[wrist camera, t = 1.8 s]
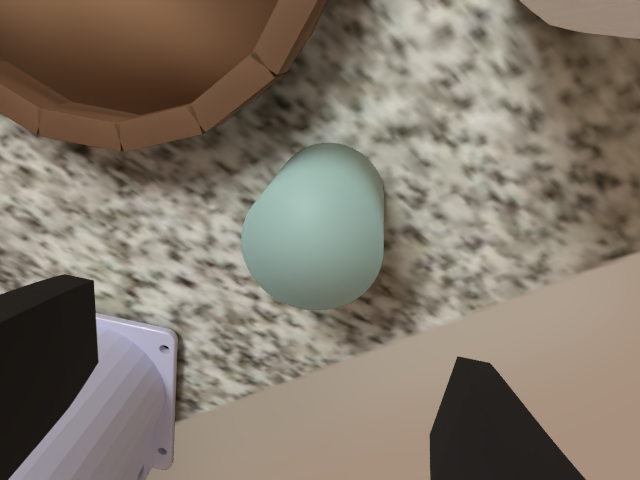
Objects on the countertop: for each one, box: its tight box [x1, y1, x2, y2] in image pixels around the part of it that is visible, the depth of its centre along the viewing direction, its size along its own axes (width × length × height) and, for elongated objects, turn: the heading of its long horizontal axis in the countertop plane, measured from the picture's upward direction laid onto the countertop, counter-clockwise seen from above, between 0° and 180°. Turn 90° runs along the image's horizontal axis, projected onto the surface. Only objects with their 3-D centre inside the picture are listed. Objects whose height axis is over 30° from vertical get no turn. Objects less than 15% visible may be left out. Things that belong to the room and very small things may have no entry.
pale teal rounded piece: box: [241, 143, 384, 310], centre depth 16 cm, size 4×4×5 cm
